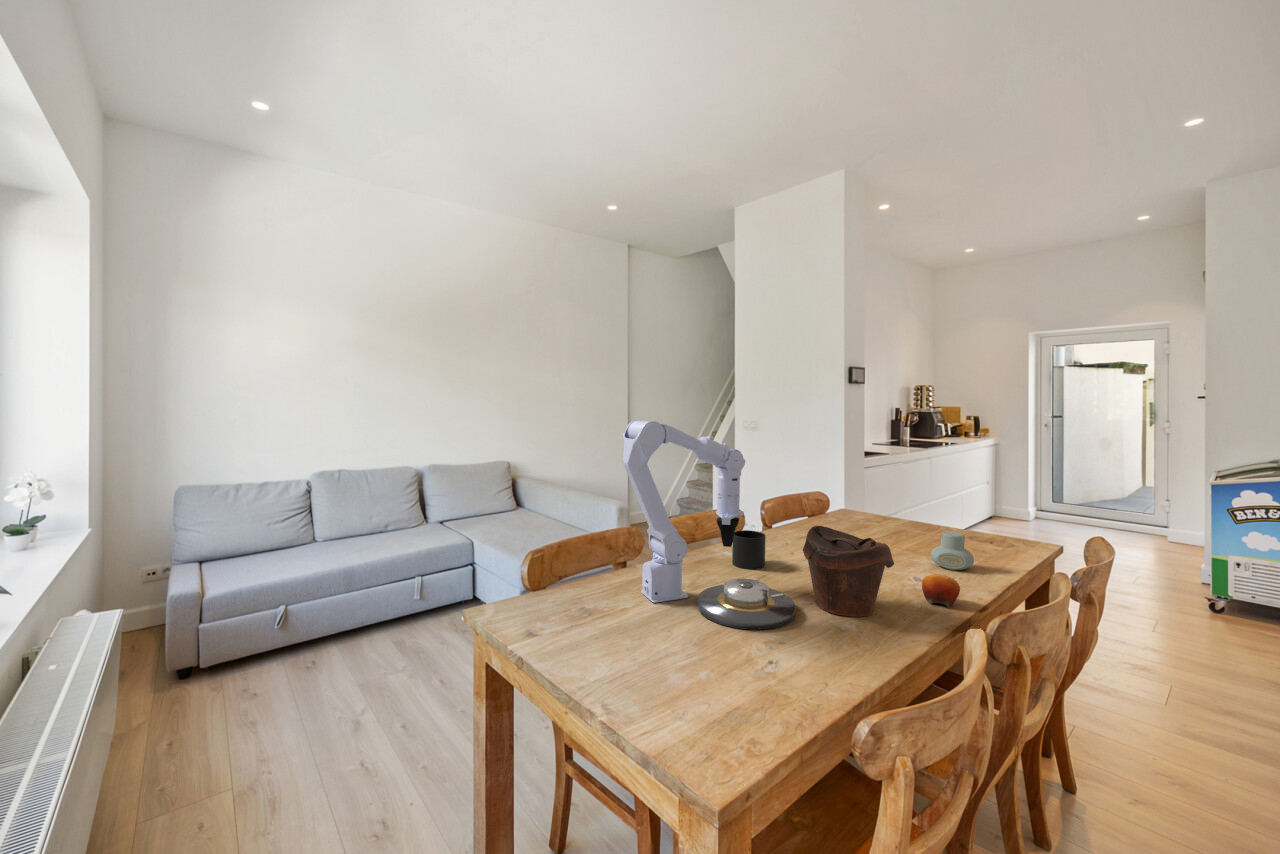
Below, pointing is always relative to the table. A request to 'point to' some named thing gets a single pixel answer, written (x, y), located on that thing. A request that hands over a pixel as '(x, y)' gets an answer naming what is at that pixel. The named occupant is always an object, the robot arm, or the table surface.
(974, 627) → the table surface
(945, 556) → the air freshener
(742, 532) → the black cylindrical cup
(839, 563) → the case
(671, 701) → the table surface
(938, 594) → the fruit
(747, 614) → the turntable
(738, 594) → the cover
